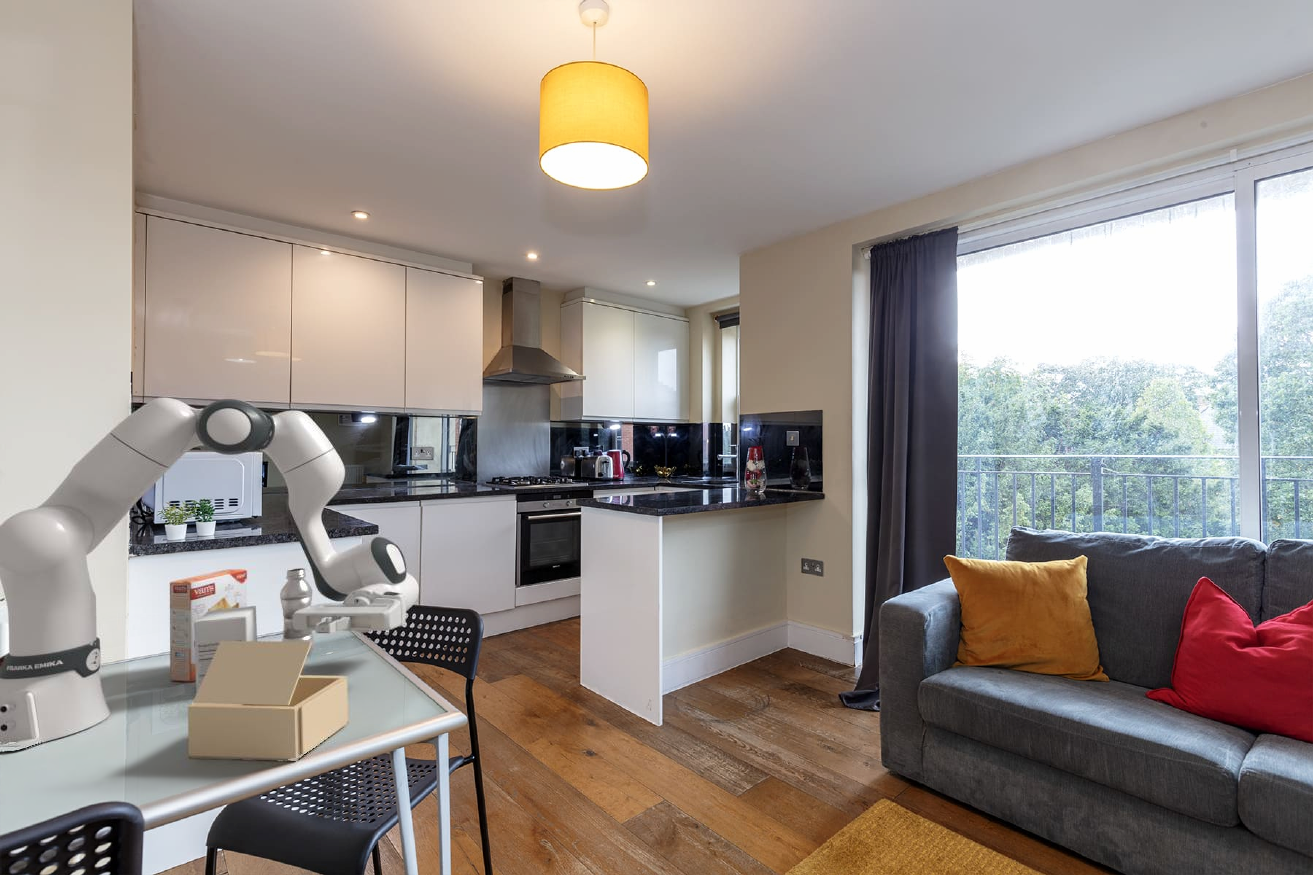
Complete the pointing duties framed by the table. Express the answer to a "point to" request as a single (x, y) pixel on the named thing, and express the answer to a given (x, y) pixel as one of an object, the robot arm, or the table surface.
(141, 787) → the table surface
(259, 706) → the carton
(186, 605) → the cracker box
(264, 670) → the flap
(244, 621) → the supplement box
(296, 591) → the plastic bottle
